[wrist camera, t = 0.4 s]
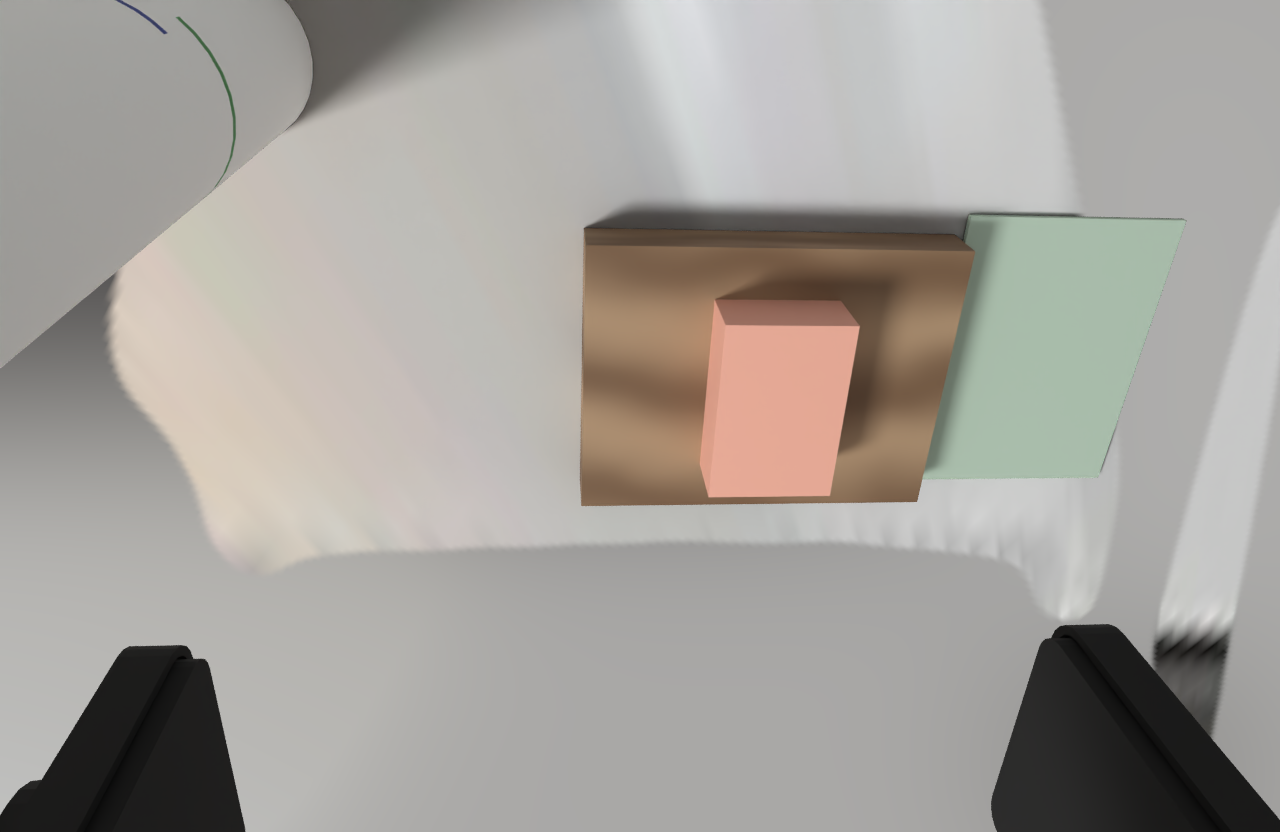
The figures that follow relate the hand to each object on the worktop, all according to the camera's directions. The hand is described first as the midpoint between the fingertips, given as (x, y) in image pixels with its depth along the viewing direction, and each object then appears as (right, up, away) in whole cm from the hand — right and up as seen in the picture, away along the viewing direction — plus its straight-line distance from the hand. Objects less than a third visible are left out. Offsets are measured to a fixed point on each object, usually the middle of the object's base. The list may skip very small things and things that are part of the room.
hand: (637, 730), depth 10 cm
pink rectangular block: (+6, +4, +33) cm, 34 cm away
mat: (+21, +7, +37) cm, 44 cm away
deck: (+6, +6, +36) cm, 37 cm away
